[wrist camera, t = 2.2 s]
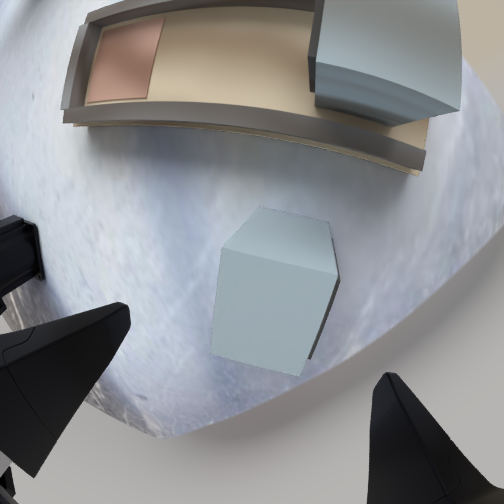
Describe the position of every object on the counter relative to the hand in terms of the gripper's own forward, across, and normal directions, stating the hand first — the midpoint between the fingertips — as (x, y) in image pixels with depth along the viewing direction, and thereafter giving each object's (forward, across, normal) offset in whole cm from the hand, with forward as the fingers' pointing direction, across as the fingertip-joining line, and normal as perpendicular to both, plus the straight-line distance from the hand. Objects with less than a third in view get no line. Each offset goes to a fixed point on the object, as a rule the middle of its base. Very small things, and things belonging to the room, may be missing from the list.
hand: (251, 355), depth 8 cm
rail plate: (+9, +5, -11) cm, 15 cm away
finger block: (+9, 0, 0) cm, 9 cm away
